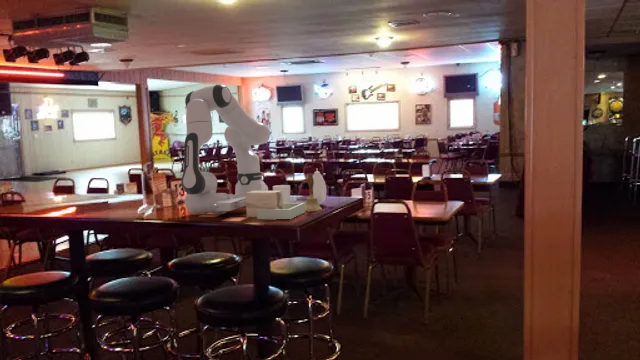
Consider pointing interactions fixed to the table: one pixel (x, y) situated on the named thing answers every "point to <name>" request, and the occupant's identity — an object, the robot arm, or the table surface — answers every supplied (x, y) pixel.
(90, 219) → the table surface
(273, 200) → the pale maple block
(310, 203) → the hand bell
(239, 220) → the trap pits
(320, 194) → the white tall oval shape
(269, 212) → the pale green tray
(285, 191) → the white cup
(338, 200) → the table surface
